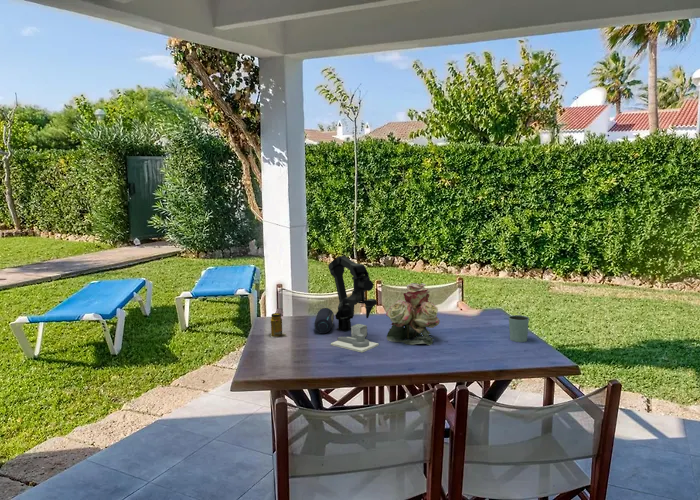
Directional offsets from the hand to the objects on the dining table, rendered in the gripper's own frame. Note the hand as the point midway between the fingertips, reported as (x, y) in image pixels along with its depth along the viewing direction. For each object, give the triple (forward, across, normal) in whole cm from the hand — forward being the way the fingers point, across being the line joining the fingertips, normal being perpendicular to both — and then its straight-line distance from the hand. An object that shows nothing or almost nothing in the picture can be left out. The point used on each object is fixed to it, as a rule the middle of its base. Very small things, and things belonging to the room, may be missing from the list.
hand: (359, 317), depth 285 cm
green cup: (+14, +72, +40) cm, 83 cm away
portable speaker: (+10, -27, +4) cm, 29 cm away
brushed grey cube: (+11, -2, +1) cm, 11 cm away
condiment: (+10, -40, -20) cm, 46 cm away
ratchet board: (+12, +4, -12) cm, 17 cm away
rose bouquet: (+12, +25, +14) cm, 31 cm away
